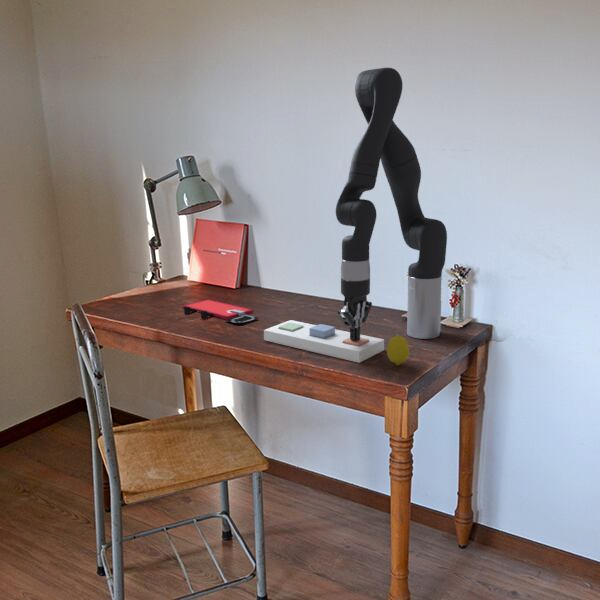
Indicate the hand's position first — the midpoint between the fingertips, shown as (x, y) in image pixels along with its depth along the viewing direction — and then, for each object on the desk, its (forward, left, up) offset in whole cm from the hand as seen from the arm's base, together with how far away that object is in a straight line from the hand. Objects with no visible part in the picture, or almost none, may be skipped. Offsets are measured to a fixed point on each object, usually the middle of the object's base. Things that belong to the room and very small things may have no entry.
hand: (355, 340), depth 188 cm
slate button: (0, -11, -1) cm, 11 cm away
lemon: (+2, +14, -4) cm, 15 cm away
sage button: (0, -22, -2) cm, 22 cm away
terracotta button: (0, 0, -2) cm, 3 cm away
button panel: (0, -11, -4) cm, 11 cm away
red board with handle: (-7, -56, -4) cm, 57 cm away
